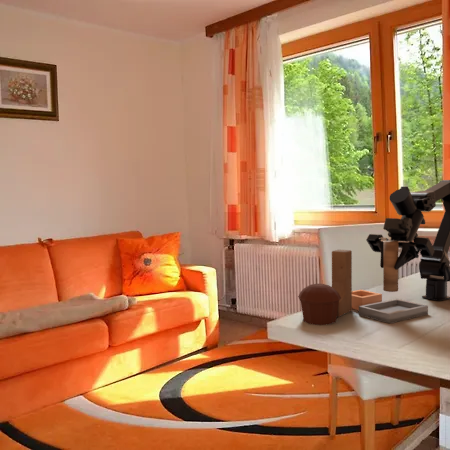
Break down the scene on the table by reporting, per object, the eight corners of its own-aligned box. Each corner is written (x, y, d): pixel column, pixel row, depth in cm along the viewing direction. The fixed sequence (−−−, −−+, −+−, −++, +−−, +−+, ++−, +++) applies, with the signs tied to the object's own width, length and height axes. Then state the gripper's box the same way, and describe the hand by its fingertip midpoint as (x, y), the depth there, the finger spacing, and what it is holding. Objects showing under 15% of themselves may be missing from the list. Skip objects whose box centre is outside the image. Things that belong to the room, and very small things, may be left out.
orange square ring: (360, 302, 161) (361, 289, 161) (381, 307, 154) (381, 294, 154) (341, 305, 157) (341, 293, 157) (362, 311, 150) (362, 297, 149)
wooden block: (339, 317, 144) (338, 253, 142) (324, 315, 146) (324, 252, 145) (352, 310, 151) (352, 250, 149) (338, 308, 153) (337, 249, 152)
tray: (396, 306, 154) (396, 298, 154) (428, 314, 145) (428, 305, 145) (358, 314, 146) (358, 306, 146) (389, 323, 136) (389, 314, 136)
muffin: (290, 321, 140) (290, 285, 140) (311, 313, 149) (310, 279, 148) (329, 328, 133) (329, 290, 132) (348, 319, 141) (348, 283, 140)
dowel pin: (385, 288, 148) (386, 240, 147) (399, 289, 146) (400, 241, 145) (381, 290, 145) (381, 241, 144) (395, 292, 143) (395, 242, 141)
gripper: (369, 207, 153) (348, 247, 147) (430, 208, 139) (409, 253, 133) (383, 231, 159) (363, 270, 152) (442, 234, 145) (423, 278, 139)
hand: (388, 267), depth 144 cm, fingers closed on dowel pin, 4 cm apart
